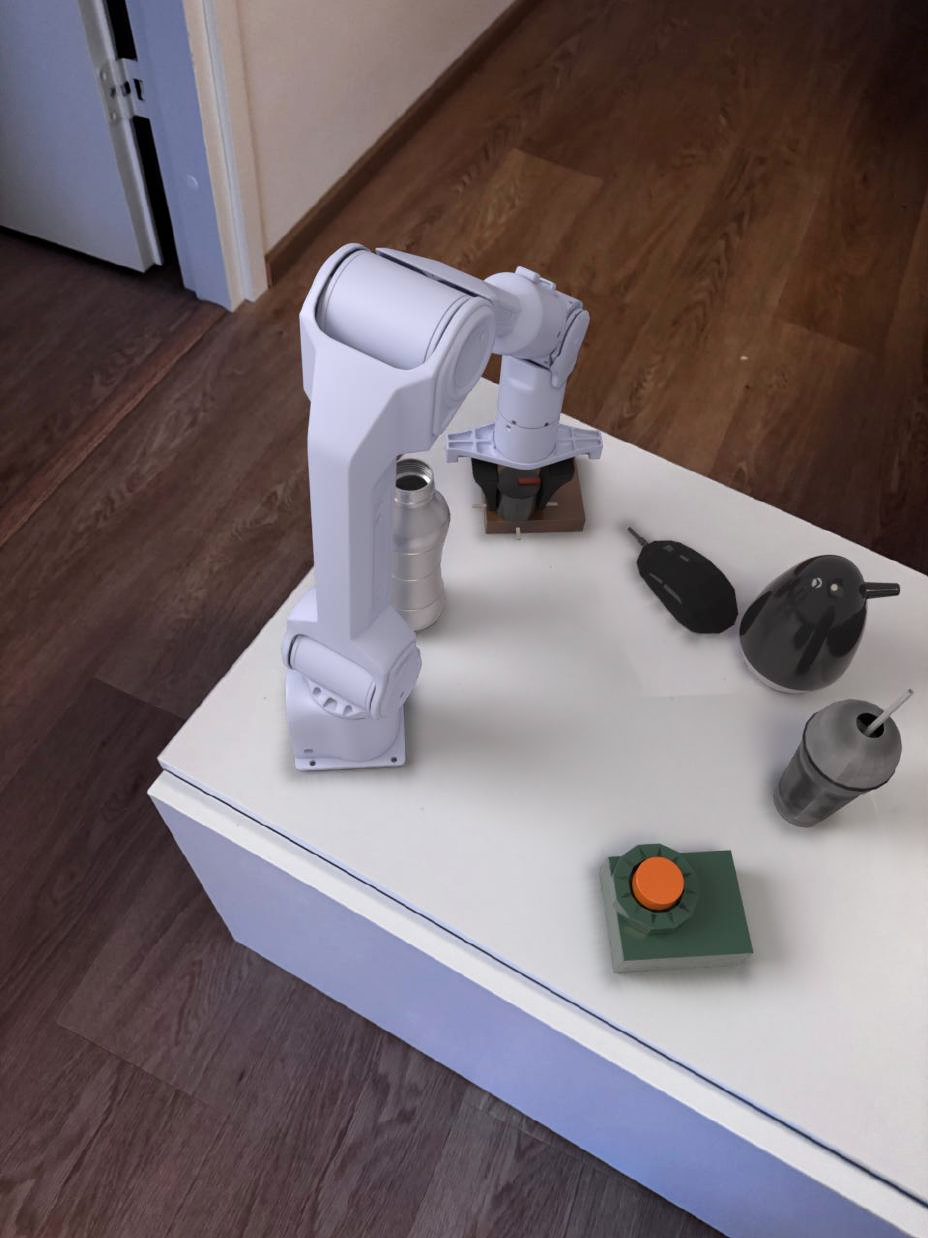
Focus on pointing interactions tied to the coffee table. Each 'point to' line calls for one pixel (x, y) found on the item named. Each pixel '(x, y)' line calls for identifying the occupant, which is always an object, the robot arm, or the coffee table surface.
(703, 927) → the button box
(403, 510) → the metal bottle
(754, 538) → the coffee table surface
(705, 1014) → the coffee table surface
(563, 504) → the control panel
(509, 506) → the knob
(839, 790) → the beverage cup
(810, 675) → the black bird figure
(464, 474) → the coffee table surface
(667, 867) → the button
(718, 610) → the gaming mouse
